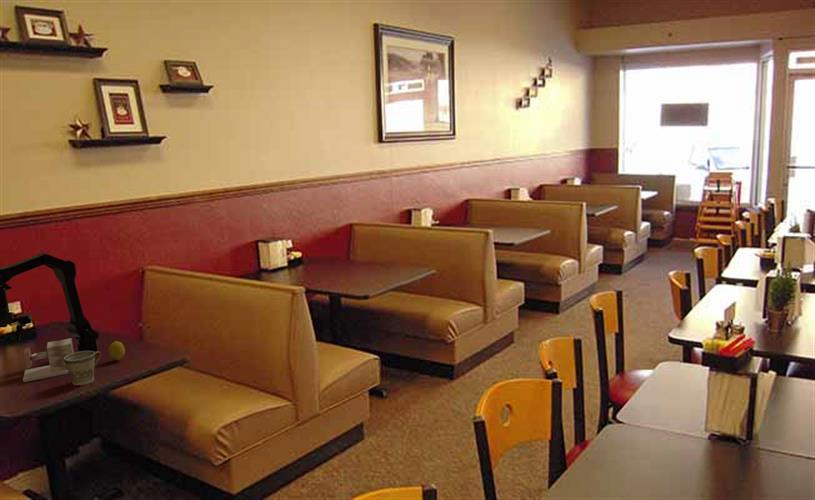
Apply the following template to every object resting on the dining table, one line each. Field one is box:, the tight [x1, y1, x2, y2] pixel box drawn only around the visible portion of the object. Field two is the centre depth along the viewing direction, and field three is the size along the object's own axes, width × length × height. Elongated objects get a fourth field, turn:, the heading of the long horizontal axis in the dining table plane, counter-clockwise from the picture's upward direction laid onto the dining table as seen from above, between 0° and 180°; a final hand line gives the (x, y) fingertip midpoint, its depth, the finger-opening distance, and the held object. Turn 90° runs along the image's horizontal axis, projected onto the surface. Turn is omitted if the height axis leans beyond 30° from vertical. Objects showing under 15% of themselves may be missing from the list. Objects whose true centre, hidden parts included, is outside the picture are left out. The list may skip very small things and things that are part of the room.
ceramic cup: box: [64, 350, 102, 387], centre depth 233 cm, size 13×10×10 cm
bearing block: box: [46, 337, 75, 372], centre depth 246 cm, size 8×8×10 cm
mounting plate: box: [22, 364, 69, 383], centre depth 245 cm, size 18×12×1 cm, turn 116°
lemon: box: [108, 340, 126, 362], centre depth 253 cm, size 6×6×8 cm
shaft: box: [23, 347, 49, 369], centre depth 243 cm, size 10×6×6 cm, turn 116°
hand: (5, 345), depth 237 cm, fingers open, 8 cm apart
